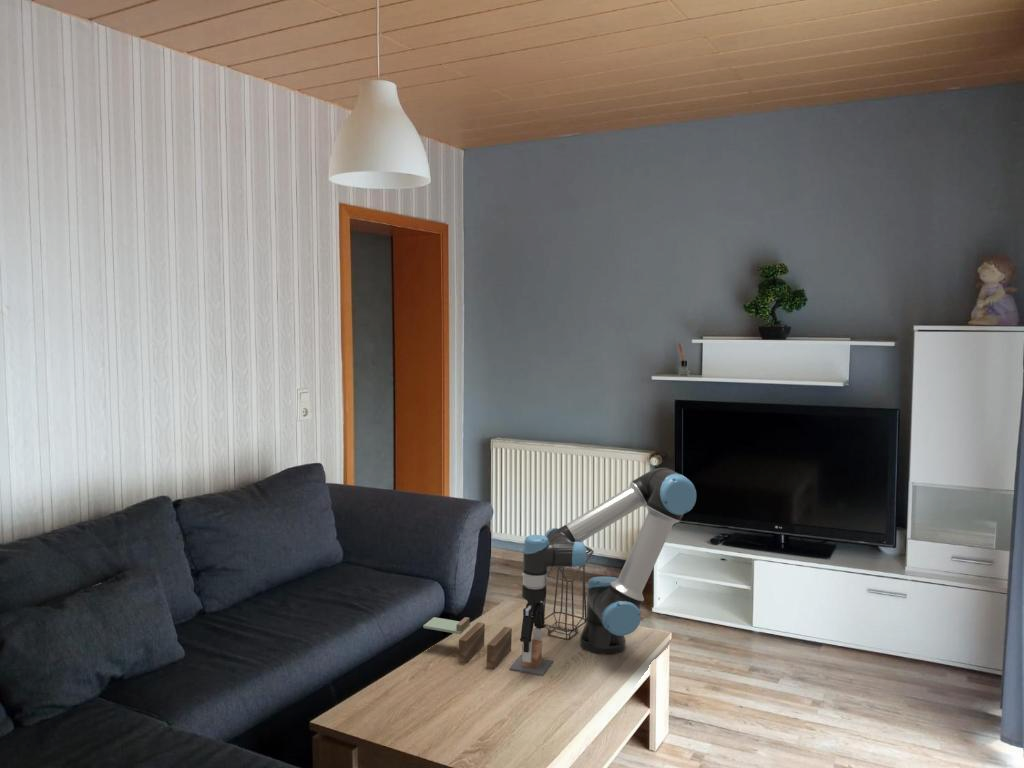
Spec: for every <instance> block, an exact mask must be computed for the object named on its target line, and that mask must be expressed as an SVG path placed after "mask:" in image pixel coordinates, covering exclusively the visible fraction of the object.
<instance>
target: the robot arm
mask: <svg viewBox="0 0 1024 768" xmlns="http://www.w3.org/2000/svg"><path fill="white" fill-rule="evenodd" d="M696 501H697V490H696V487H695V485H694V483H693V482H692V481H691V480H690V479H689V478H687V477H686V476H684V475H683V474H681V473H678V472H676V471H674V469H671V468H667V467H658V468H654V469H651V470H650V471H647V472H646V473H644V474H642V475H641V476H638V477H637V478H635V479H633V480H632V481H630V483H629V486H628V487H627V488H624V489H623V490H622V491H620V492H618V493H617V494H614V495H613V496H611V497H610V498H608V499H606V500H605V501H603V502H601V503H599V504H598V505H596V506H595V507H593V508H591V509H590V510H588V511H586V512H585V513H583V514H581V515H580V516H578V517H576V518H575V519H573V520H571V521H570V522H568V523H566V524H564V525H562V526H561V527H559V528H558V527H553V528H550V529H548V530H547V531H546V532H545V533H544V535H543V534H530V535H528V536H526V537H524V538H525V539H524V542H523V550H522V552H523V564H522V565H523V566H522V567H523V568H522V573H521V577H522V590H521V591H522V593H521V596H522V599H524V600H525V601H527V603H526V604H525V608H523V610H522V612H523V613H522V614H523V615H522V616H523V617H522V623H521V632H520V633H521V634H520V638H519V641H520V642H521V643H522V644H523V651H522V650H521V655H522V661H525V662H531V654H532V641H531V639H534V640H540V641H542V642H543V629H546V627H545V625H543V624H546V623H545V622H546V621H545V620H546V619H545V620H544V618H545V617H544V599H545V598H547V586H546V585H548V577H547V575H548V573H547V572H548V568H552V567H553V568H555V567H557V568H558V567H566V568H570V567H571V568H575V567H579V566H583V565H584V564H585V562H586V559H587V558H586V556H587V554H586V552H587V551H586V548H585V546H586V545H585V543H583V542H584V541H586V540H587V539H589V538H590V537H591V538H592V536H594V535H596V534H598V533H599V532H601V531H602V530H604V529H606V528H608V527H610V526H611V525H613V524H614V523H616V522H618V521H619V520H621V519H622V518H624V517H626V516H627V515H629V514H631V513H632V512H635V511H636V510H638V509H640V508H641V507H642V508H646V509H647V514H646V517H645V519H644V521H643V523H642V526H641V528H640V529H639V532H638V533H637V536H636V538H635V541H634V543H633V545H632V547H631V550H630V552H629V553H628V556H627V558H626V559H625V562H624V565H623V567H622V569H621V571H620V574H619V575H618V577H614V576H606V575H605V576H593V577H591V578H589V580H588V581H587V582H588V583H587V587H586V588H587V596H586V618H587V619H586V623H585V624H584V626H583V629H582V631H581V635H580V638H579V641H580V642H579V645H580V647H581V648H582V649H584V650H586V651H588V652H591V653H594V654H600V655H614V654H619V653H621V652H623V651H624V650H625V649H626V643H627V642H626V641H627V640H626V637H625V636H628V635H630V634H633V632H635V631H636V630H637V629H638V628H639V626H640V624H641V620H642V614H641V612H640V610H641V607H642V605H643V603H644V602H645V601H644V600H645V598H644V594H643V591H644V589H645V587H646V585H647V582H648V580H649V578H650V576H651V573H652V571H653V569H654V567H655V565H656V563H657V560H658V559H659V556H660V553H661V552H662V550H663V547H664V546H665V543H666V541H667V538H668V537H669V534H670V533H671V530H672V529H673V526H674V525H675V524H677V523H680V522H681V520H682V518H683V516H684V514H686V513H689V512H690V511H691V510H693V507H695V505H696ZM586 563H587V562H586ZM585 565H586V564H585Z"/></svg>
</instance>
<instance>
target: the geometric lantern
mask: <svg viewBox="0 0 1024 768" xmlns="http://www.w3.org/2000/svg"><path fill="white" fill-rule="evenodd" d="M585 548H586V562H585V564H584V565H583V566H578V567H579V568H578V569H574V568H572V567H571V568H570V567H550V569H549V570H547V578H552V579H554V580H556V581H555V583H556V584H555V592H554V593H555V594H554V600H553V601H554V602H553V612H552V613H549V615H547V616H546V600H547V599H546V598H547V597H546V598H545V599H544V620H546V619H548V618H550V617H551V616H553V617H554V620H555V622H554V623H553V624H551V625H550V624H547V623H544V624H543V625H545V629H547V636H549V635H550V636H549V637H553V636H554V637H553V638H557V637H559V638H558V639H561V638H563V639H562V640H565V639H569V640H571V639H572V638H573V637H575V636H576V635H577V634H578V629H579V628H580V627H582V626H583V625H585V624H586V619H587V596H586V563H588V561H589V559H590V558H591V557H592V555H593V554H594V552H595V551H594V550H593V549H591V548H590V547H589V546H586V545H585ZM581 568H582V570H580V569H581ZM556 569H557V571H556V577H555V576H551V575H550V573H551V572H552V571H553V570H556ZM565 569H566V570H570V571H571V570H572V571H575V572H576V573H575V575H574V577H573V578H572V580H571V579H570V580H568V579H567V577H566V576H565ZM579 572H580V573H582V574H581V575H579V576H578V577H577V575H578V574H579ZM559 573H561V577H562V578H559ZM581 577H582V608H581V609H582V615H581V616H578V615H574V610H575V609H574V581H576V580H578V579H580V578H581ZM559 581H561V592H560V593H561V594H560V595H561V596H560V611H556V605H557V604H556V603H557V594H558V586H559V585H558V584H559ZM564 582H566V584H565V586H566V587H565V612H564V611H563V600H564V599H563V597H564ZM569 583H571V614H570V613H568V589H569ZM547 585H548V584H547ZM547 585H546V587H547ZM555 614H559V616H558V620H557V617H556V615H555ZM561 615H565V617H564V622H561V621H560V620H561ZM567 616H569V617H571V623H568V621H567V620H568V617H567ZM575 618H577V619H580V620H579V621H578V622H577V624H576V625H575ZM582 620H583V622H582ZM581 622H582V623H581ZM560 624H562V625H564V627H563V628H564V629H561V628H562V627H561V626H560ZM554 625H555V626H554ZM557 625H558V626H557ZM567 626H571V627H572V629H569V628H567ZM554 629H555V630H554ZM567 629H568V630H567ZM551 631H552V632H553V633H554V632H555V633H558V634H561V635H564V636H565V638H564V637H560V636H557V635H553V634H551V633H552V632H551ZM560 631H561V632H560ZM574 631H575V633H574V634H573V635H572V636H571V633H573V632H574ZM550 632H551V633H550ZM575 634H576V635H575ZM570 638H571V639H570Z"/></svg>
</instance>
